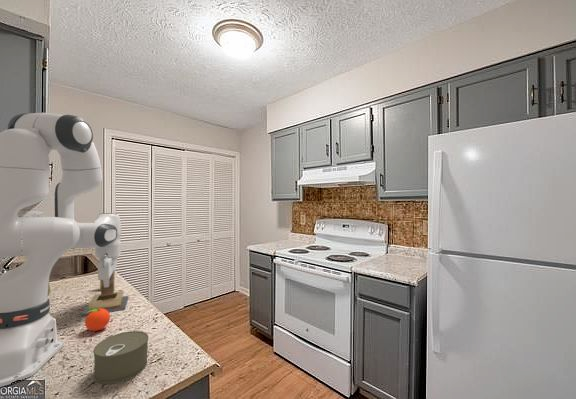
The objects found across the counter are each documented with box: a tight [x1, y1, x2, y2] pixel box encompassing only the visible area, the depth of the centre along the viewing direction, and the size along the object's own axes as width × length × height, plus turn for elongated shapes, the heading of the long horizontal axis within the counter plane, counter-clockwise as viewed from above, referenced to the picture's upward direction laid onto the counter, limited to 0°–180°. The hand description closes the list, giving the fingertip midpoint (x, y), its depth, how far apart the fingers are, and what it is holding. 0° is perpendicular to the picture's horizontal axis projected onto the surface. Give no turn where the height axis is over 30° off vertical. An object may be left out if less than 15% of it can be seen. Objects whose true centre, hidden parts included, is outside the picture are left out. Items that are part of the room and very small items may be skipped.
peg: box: [100, 269, 116, 296], centre depth 107 cm, size 4×4×9 cm
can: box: [93, 330, 149, 385], centre depth 67 cm, size 12×12×7 cm
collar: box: [81, 290, 130, 317], centre depth 107 cm, size 14×14×4 cm
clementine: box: [84, 308, 111, 332], centre depth 87 cm, size 8×7×7 cm
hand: (107, 284), depth 107 cm, fingers closed on peg, 4 cm apart
